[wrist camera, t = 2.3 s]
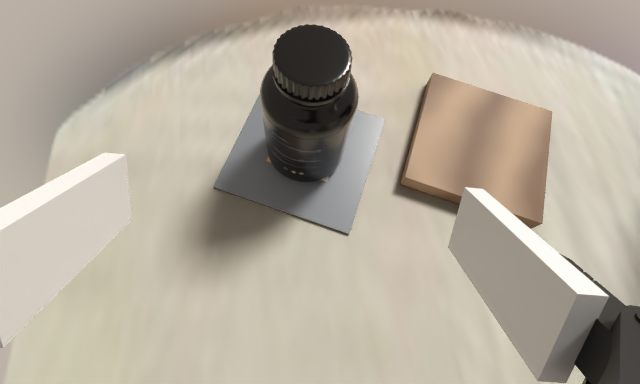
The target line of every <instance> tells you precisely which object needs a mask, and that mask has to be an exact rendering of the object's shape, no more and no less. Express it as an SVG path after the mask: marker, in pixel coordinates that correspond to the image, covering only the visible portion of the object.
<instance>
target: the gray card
mask: <svg viewBox="0 0 640 384" xmlns="http://www.w3.org/2000/svg"><path fill="white" fill-rule="evenodd" d="M384 121H385V119H384V118H381V117H378V116H375V115H371V114H368V113H365V112H362V111H359V110H356V113H355V117H354V120H353V123H352V127H351V130H350V134H349V137H348V141H347V144H346V148H345V151H344V154H343V158H342V160H341V162H340V164H339V166H338V167H337V169H336V170H335V171H334V172H333V173H332V174H330V175H329V176H327V177H326V178H324V179H321V180H319V181H315V182H298V181H294V180H291V179H289V178H287V177H285V176H283V175H282V174H281V173H279V172H278V171H277V170H276V169H275V167H274V166H273V165H272V163H271V161H270V159H269V156H268V152H267V146H266V139H265V131H264V124H263V116H262V108H261V99H260V95H259V97H258V99H257V101H256V103H255V105H254V107H253V109H252V111H251V113H250V115H249V117H248V119H247V121H246V123H245V125H244V127H243V129H242V131H241V133H240V135H239V137H238V139H237V141H236V143H235V145H234V147H233V149H232V151H231V153H230V155H229V157H228V159H227V161H226V163H225V165H224V167H223V169H222V171H221V173H220V175H219V177H218V179H217V181H216V183H215V185H214V188H217V189H220V190H222V191H225V192H228V193H231V194H234V195H237V196H240V197H243V198H245V199H248V200H251V201H254V202H257V203H260V204H263V205H266V206H268V207H271V208H274V209H277V210H280V211H283V212H286V213H288V214H291V215H294V216H297V217H300V218H303V219H306V220H309V221H311V222H314V223H317V224H320V225H323V226H326V227H329V228H332V229H334V230H337V231H340V232H343V233H346V234H349V233H350V230H351V226H352V223H353V220H354V217H355V214H356V210H357V207H358V204H359V201H360V198H361V195H362V191H363V188H364V185H365V182H366V179H367V175H368V172H369V169H370V166H371V163H372V159H373V156H374V153H375V150H376V147H377V144H378V140H379V137H380V134H381V131H382V128H383V124H384Z"/></svg>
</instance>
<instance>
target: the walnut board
mask: <svg viewBox="0 0 640 384" xmlns="http://www.w3.org/2000/svg"><path fill="white" fill-rule="evenodd" d="M551 120H552V111H549V110H546V109H543V108H540V107H537V106H534V105H531V104H528V103H525V102H521V101H518V100H515V99H512V98H509V97H506V96H503V95H500V94H497V93H494V92H491V91H487V90H484V89H481V88H478V87H475V86H472V85H469V84H466V83H463V82H460V81H456V80H453V79H450V78H447V77H444V76H441V75H438V74H435V73H433V74H432V75H431V77H430V79H429V81H428V83H427V86H426V90H425V94H424V97H423V101H422V105H421V108H420V112H419V116H418V120H417V123H416V127H415V131H414V134H413V138H412V142H411V145H410V149H409V153H408V157H407V160H406V164H405V168H404V171H403V175H402V179H401V183H400V184H401V185H404V186H407V187H410V188H413V189H416V190H419V191H422V192H425V193H428V194H431V195H433V196H436V197H439V198H442V199H445V200H448V201H451V202H454V203H457V204H460V202H461V199H462V195H463V191H464V188H465V187H468V188H478V189H484V190H485V191H486V192H487V193H489V194H490V195H491V196H492V197H493V198H494V199H496V200H497V201H498V202H499V203H500V204H502V205H503V206H504V207H505V208H506V209H507V210H509V211H510V212H511V213H512V214H513V215H514V216H516V217H517V218H518V219H519V220H520V221H521V222H523V223H524V224H525V225H526V226H527V227H529V228H533V227H536V226H538V225H540V224H542V220H543V209H544V198H545V187H546V176H547V164H548V153H549V142H550V131H551Z"/></svg>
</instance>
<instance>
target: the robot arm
mask: <svg viewBox="0 0 640 384" xmlns="http://www.w3.org/2000/svg"><path fill="white" fill-rule="evenodd" d="M131 221H132V216H131V206H130V195H129V185H128V174H127V164H126V155H124V154H114V153H103V154H101V155H99V156H97V157H95V158H94V159H92V160H90V161H88V162H86V163H84V164H82V165H80V166H79V167H77V168H75V169H73V170H71V171H69V172H67V173H65V174H64V175H62V176H60V177H58V178H56V179H54V180H52V181H51V182H49V183H47V184H45V185H43V186H41V187H39V188H37V189H36V190H34V191H32V192H30V193H28V194H26V195H24V196H23V197H21V198H19V199H17V200H15V201H13V202H11V203H9V204H7V205H6V206H4V207H2V208H0V348H3V347H4V346H5V345H6V344H7V343H9V342H10V341H11V340H12V339H13V338H14V337H15V336H16V335H17V334H18V333H19V332H20V331H21V330H22V329H23V328H24V327H25V326H26V325H27V324H28V323H29V322H30V321H31V320H32V319H33V318H34V317H35V316H36V315H37V314H38V313H39V312H40V311H41V310H42V309H43V308H44V307H45V306H46V305H47V304H48V303H49V302H50V301H51V300H52V299H53V298H54V297H55V296H56V295H57V294H58V293H59V292H60V291H61V290H62V289H63V288H64V287H65V286H66V285H67V284H68V283H69V282H70V281H71V280H72V279H73V278H74V277H75V276H76V275H77V274H78V273H79V272H80V271H81V270H82V269H83V268H84V267H85V266H86V265H87V264H88V263H89V262H90V261H91V260H92V259H93V258H94V257H95V256H96V255H97V254H98V253H99V252H100V251H101V250H102V249H103V248H104V247H105V246H106V245H107V244H108V243H109V242H110V241H111V240H112V239H113V238H114V237H115V236H116V235H117V234H118V233H119V232H120V231H121V230H122V229H123V228H124V227H125V226H126V225H127V224H129V223H130V222H131ZM448 248H449V249H450V251H451V252H452V254H453V255H454V257H455V258H456V260H457V261H458V263H459V264H460V266H461V267H462V269H463V270H464V272H465V273H466V275H467V276H468V278H469V279H470V281H471V282H472V284H473V285H474V287H475V288H476V290H477V291H478V293H479V294H480V296H481V297H482V299H483V300H484V302H485V303H486V305H487V306H488V308H489V309H490V311H491V312H492V314H493V315H494V317H495V318H496V320H497V321H498V323H499V324H500V326H501V327H502V329H503V330H504V332H505V333H506V335H507V336H508V338H509V339H510V341H511V342H512V344H513V345H514V347H515V348H516V350H517V351H518V353H519V354H520V356H521V357H522V359H523V360H524V362H525V363H526V365H527V366H528V368H529V369H530V371H531V372H532V374H533V375H534V377H535V378H536V380H537V381H542V382H558V383H566V382H567V380H568V378H569V376H570V374H571V372H572V370H573V368H574V366H575V365H576V366H577V367H578V369H579V370H580V371H581V372H582V373H583V375H584V376H585V377H586V378H585V379H584V381H583V383H582V384H640V307H638V306H631V305H630V306H625V305H624V304H623V303H622V302H621V301H619V300H618V299H617V298H616V297H615V296H613V295H612V294H611V293H610V292H609V291H608V290H606V289H605V288H604V287H603V286H602V285H600V284H599V283H598V282H597V281H593V278H592V277H591V276H590V275H588V274H587V273H586V272H583V270H582V269H581V268H580V267H579V266H578V265H576V264H575V263H574V262H573V261H572V260H570V259H569V258H567V257H565V256H563V255H561V254H560V253H558V252H557V251H555V250H554V249H553V248H552V247H551V246H550V245H548V244H547V243H546V242H545V241H544V240H543V239H541V238H540V237H539V236H538V235H537V234H536V233H534V232H533V231H532V230H531V229H530V228H529V227H527V226H526V225H525V224H524V223H523V222H521V221H520V220H519V219H518V218H517V217H516V216H514V215H513V214H512V213H511V212H510V211H509V210H507V209H506V208H505V207H504V206H503V205H502V204H500V203H499V202H498V201H497V200H496V199H494V198H493V197H492V196H491V195H490V194H489V193H487V192H486V191H485V190H484V189H478V188H468V187H465V188H464V191H463V195H462V199H461V202H460V206H459V209H458V213H457V216H456V220H455V224H454V227H453V231H452V234H451V238H450V242H449V245H448Z"/></svg>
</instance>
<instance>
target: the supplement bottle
mask: <svg viewBox="0 0 640 384" xmlns="http://www.w3.org/2000/svg"><path fill="white" fill-rule="evenodd" d="M351 63H352V56H351V50H350V49H349V45H348V44H347V43H346V40H345V39H343V38H342V36H341V35H339V34H337V32H336V31H333V30H331V29H330V28H326V27H323V26H317V25H304V26H302V25H300V26H298V27H294V28H292V29H291V30H287V31H286V32H285V33H284V34H282V35H281V36H280V38H279V39H277V43H276V44H275V45H274V50H273V65H272V66H271V67H270V68H269V70H268V71H267V72H266V74H265V76H264V78H263V81H262V84H261V89H260V99H261V108H262V116H263V124H264V131H265V139H266V146H267V152H268V156H269V159H270V161H271V163H272V165H273V166H274V167H275V169H276V170H277V171H278V172H279V173H281V174H282V175H283V176H285V177H287V178H289V179H291V180H294V181H298V182H315V181H319V180H321V179H324V178H326V177H327V176H329V175H330V174H332V173H333V172H334V171H335V170H336V169H337V167H338V166H339V164H340V162H341V160H342V158H343V154H344V151H345V148H346V144H347V141H348V137H349V134H350V130H351V127H352V123H353V120H354V117H355V113H356V109H357V105H358V88H357V84H356V82H355V79H354V77H353V75H352V74H351Z"/></svg>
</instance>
